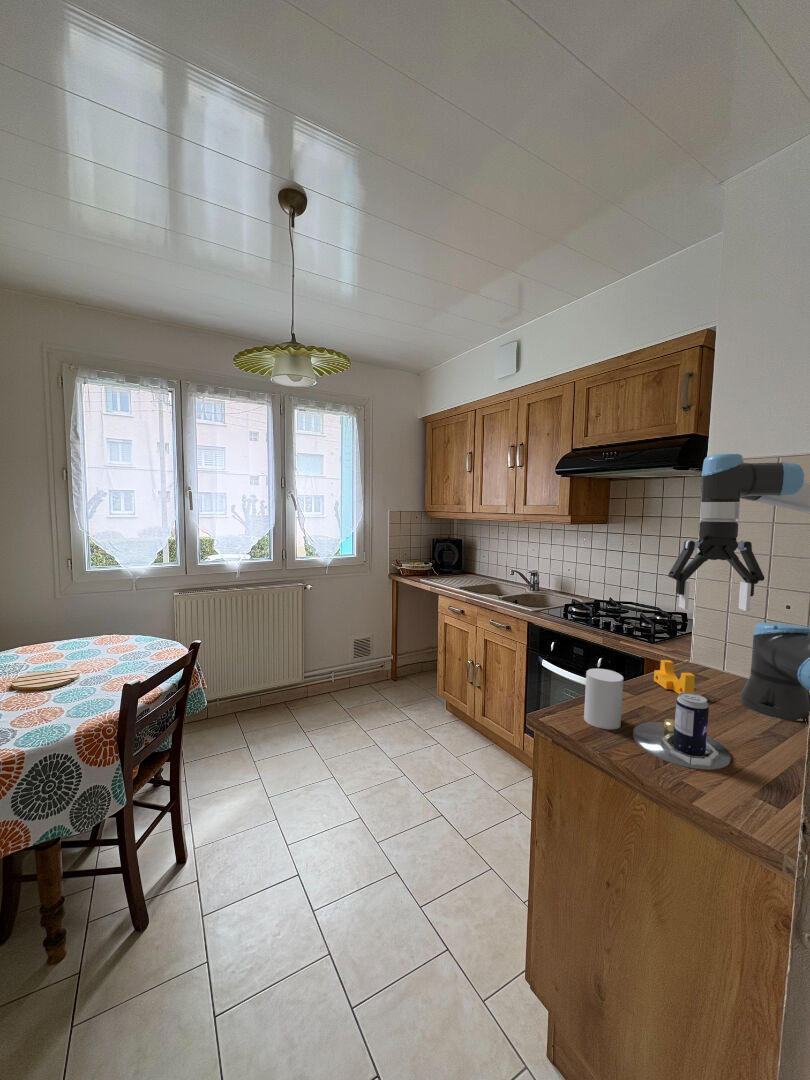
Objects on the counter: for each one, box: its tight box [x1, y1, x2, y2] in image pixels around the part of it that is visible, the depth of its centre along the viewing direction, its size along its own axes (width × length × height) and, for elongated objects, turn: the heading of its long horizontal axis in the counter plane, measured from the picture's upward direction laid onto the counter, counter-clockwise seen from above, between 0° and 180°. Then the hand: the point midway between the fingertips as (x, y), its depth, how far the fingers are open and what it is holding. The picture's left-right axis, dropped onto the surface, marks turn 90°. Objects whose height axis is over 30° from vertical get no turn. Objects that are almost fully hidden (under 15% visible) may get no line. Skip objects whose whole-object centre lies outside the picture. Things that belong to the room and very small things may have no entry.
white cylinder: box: [583, 668, 624, 730], centre depth 106 cm, size 8×8×12 cm
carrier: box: [632, 718, 732, 771], centre depth 96 cm, size 18×18×4 cm
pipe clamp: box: [653, 659, 696, 695], centre depth 128 cm, size 12×4×6 cm, turn 0°
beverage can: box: [673, 692, 710, 757], centre depth 92 cm, size 6×6×12 cm
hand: (713, 609), depth 105 cm, fingers open, 13 cm apart
